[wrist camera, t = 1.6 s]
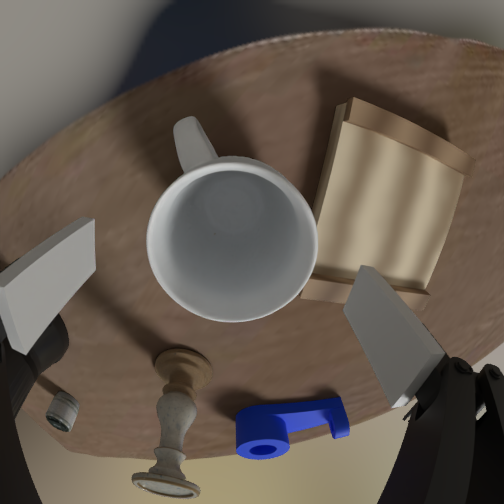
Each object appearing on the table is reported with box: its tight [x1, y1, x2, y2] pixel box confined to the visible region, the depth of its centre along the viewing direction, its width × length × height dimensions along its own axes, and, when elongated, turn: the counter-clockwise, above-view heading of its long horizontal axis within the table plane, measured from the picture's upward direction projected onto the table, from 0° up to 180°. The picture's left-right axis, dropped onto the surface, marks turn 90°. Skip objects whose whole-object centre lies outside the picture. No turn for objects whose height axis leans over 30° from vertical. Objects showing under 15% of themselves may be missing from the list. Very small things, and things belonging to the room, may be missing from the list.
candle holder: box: [132, 349, 213, 499], centre depth 29 cm, size 9×9×20 cm
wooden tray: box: [298, 97, 476, 311], centre depth 28 cm, size 18×21×4 cm
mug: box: [146, 116, 318, 322], centre depth 22 cm, size 15×11×13 cm
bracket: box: [236, 397, 350, 460], centre depth 41 cm, size 20×9×8 cm, turn 97°
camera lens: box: [46, 392, 79, 432], centre depth 39 cm, size 6×6×8 cm
